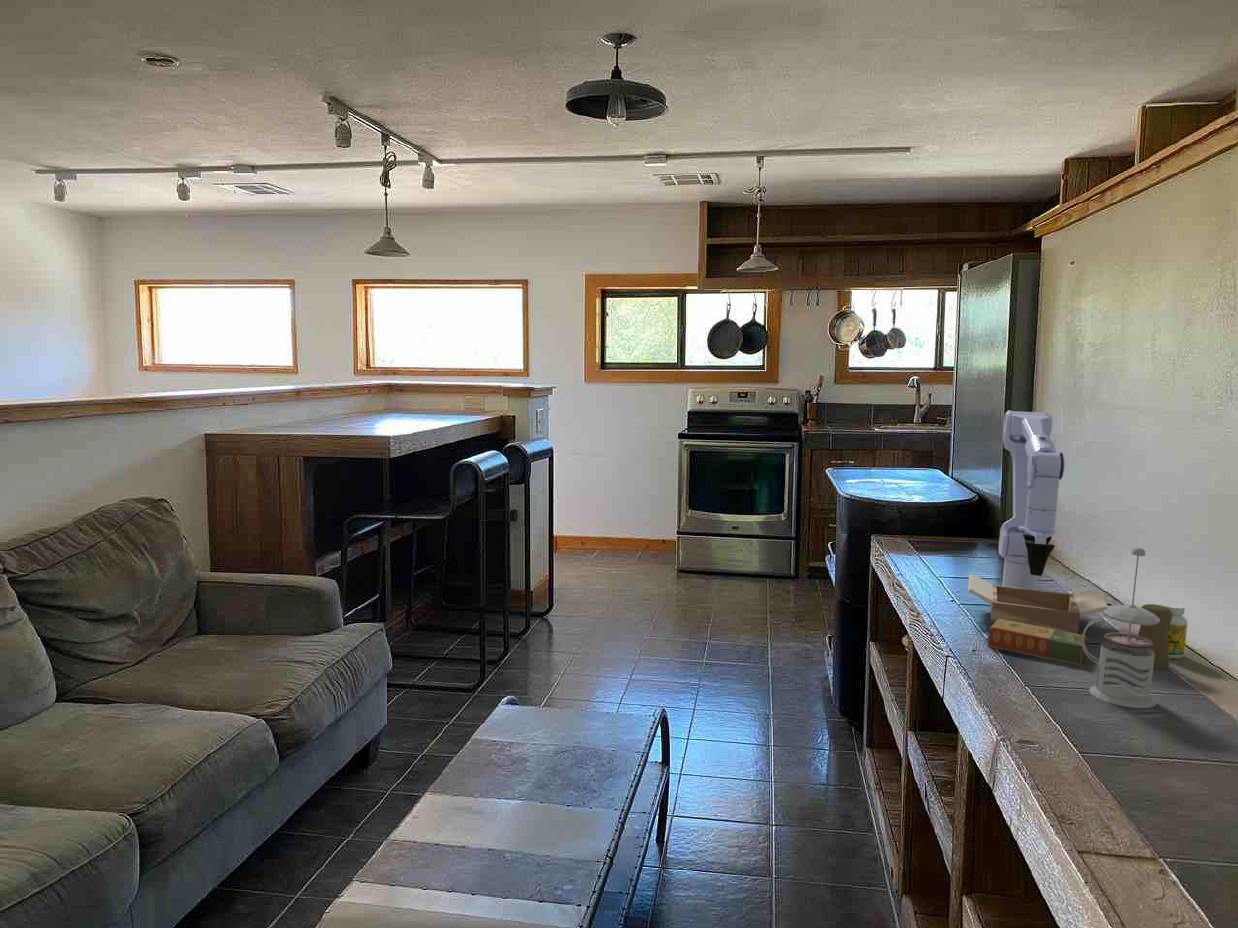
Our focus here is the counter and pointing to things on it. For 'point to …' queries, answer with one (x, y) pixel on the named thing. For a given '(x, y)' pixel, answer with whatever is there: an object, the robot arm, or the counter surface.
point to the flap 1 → (980, 588)
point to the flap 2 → (1090, 602)
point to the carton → (1037, 641)
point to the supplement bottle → (1176, 630)
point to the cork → (1158, 635)
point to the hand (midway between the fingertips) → (1035, 571)
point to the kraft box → (1035, 608)
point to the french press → (1125, 657)
